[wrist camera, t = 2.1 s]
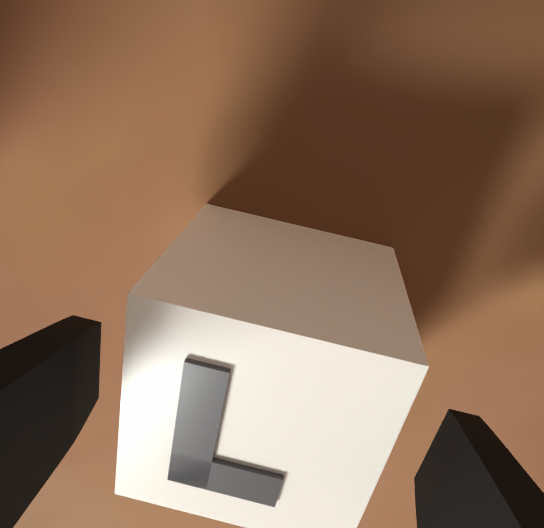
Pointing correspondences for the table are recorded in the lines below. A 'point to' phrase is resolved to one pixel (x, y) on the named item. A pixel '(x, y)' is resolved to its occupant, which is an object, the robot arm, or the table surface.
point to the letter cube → (265, 373)
